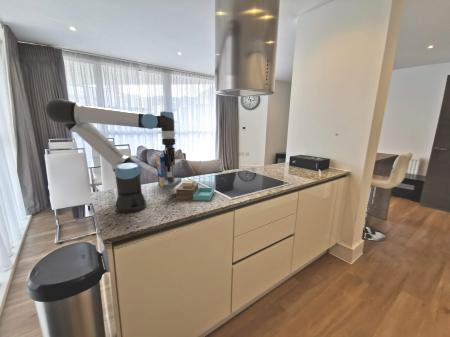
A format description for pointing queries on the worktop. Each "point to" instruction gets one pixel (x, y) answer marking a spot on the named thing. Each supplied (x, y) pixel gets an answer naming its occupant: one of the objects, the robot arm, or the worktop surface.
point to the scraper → (171, 180)
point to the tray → (203, 194)
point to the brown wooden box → (186, 192)
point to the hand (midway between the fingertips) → (170, 176)
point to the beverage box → (161, 170)
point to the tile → (188, 184)
